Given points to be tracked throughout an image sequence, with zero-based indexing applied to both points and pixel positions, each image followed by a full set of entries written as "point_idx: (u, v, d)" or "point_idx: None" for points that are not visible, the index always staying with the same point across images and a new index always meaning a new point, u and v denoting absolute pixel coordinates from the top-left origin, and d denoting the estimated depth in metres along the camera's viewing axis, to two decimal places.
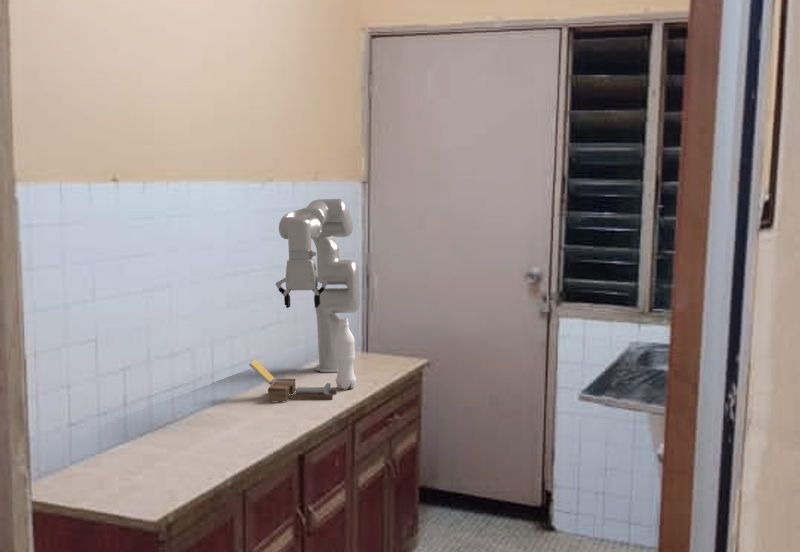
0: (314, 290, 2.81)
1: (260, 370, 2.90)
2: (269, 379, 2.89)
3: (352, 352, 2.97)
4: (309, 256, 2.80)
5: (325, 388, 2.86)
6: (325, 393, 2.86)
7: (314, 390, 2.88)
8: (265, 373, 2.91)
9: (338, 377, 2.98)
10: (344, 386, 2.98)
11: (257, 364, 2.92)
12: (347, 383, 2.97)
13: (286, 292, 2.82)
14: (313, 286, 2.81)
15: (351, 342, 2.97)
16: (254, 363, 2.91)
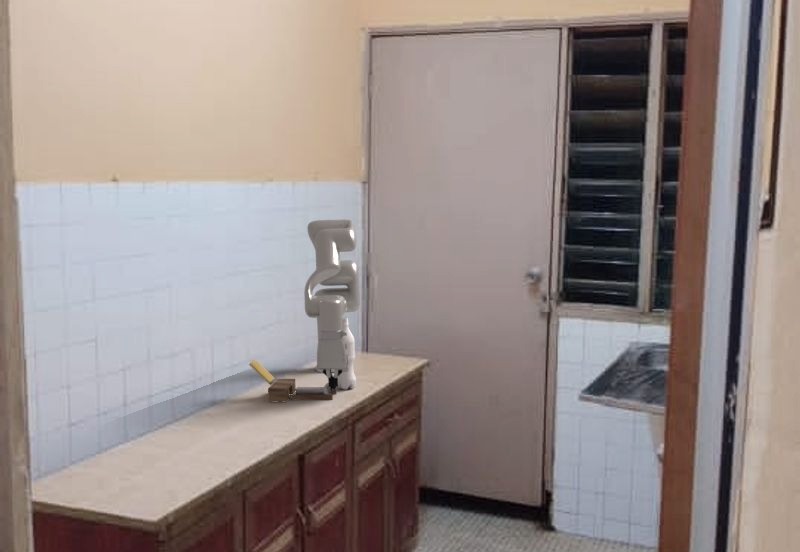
0: (336, 372, 2.87)
1: (260, 370, 2.90)
2: (269, 379, 2.89)
3: (352, 352, 2.97)
4: (340, 336, 2.85)
5: (325, 388, 2.86)
6: (325, 393, 2.86)
7: (314, 390, 2.88)
8: (265, 373, 2.91)
9: (338, 377, 2.98)
10: (344, 386, 2.98)
11: (257, 364, 2.92)
12: (347, 383, 2.97)
13: (330, 374, 2.87)
14: (344, 365, 2.86)
15: (351, 342, 2.97)
16: (254, 363, 2.91)
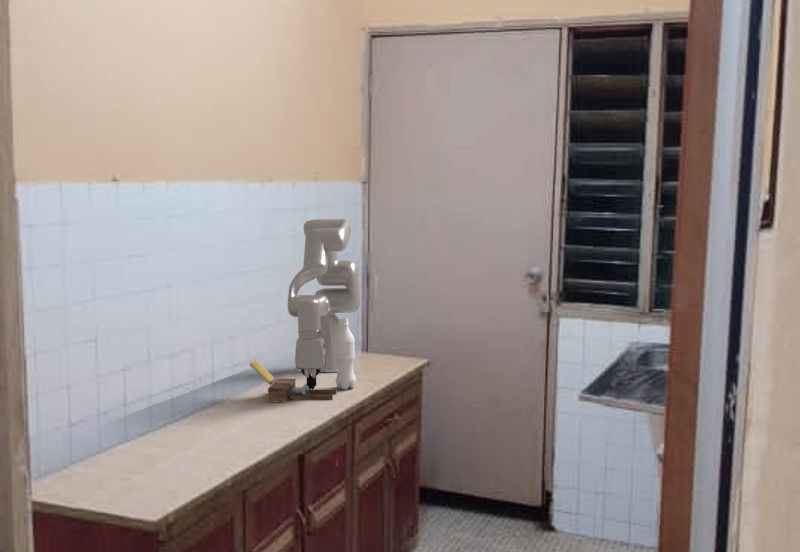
0: (314, 371, 2.87)
1: (260, 370, 2.90)
2: (269, 379, 2.89)
3: (352, 352, 2.97)
4: (318, 335, 2.86)
5: (303, 388, 2.87)
6: (303, 393, 2.87)
7: (292, 390, 2.89)
8: (265, 373, 2.91)
9: (338, 377, 2.98)
10: (344, 386, 2.98)
11: (257, 364, 2.92)
12: (347, 383, 2.97)
13: (308, 374, 2.88)
14: (322, 365, 2.86)
15: (351, 342, 2.97)
16: (254, 363, 2.91)
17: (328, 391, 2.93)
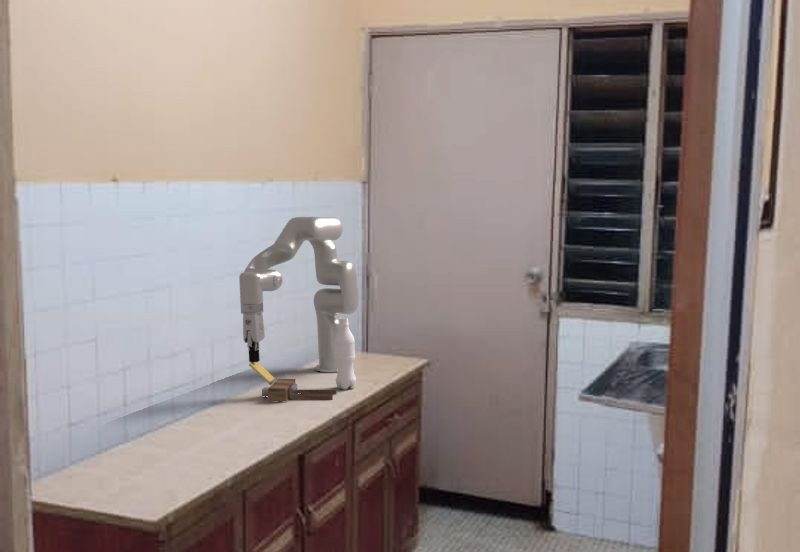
0: None
1: (260, 370, 2.90)
2: (269, 379, 2.89)
3: (352, 352, 2.97)
4: (244, 310, 2.86)
5: (290, 388, 2.87)
6: (290, 393, 2.87)
7: None
8: (265, 373, 2.91)
9: (338, 377, 2.98)
10: (344, 386, 2.98)
11: (257, 364, 2.92)
12: (347, 383, 2.97)
13: None
14: None
15: (351, 342, 2.97)
16: (254, 363, 2.91)
17: (328, 391, 2.93)
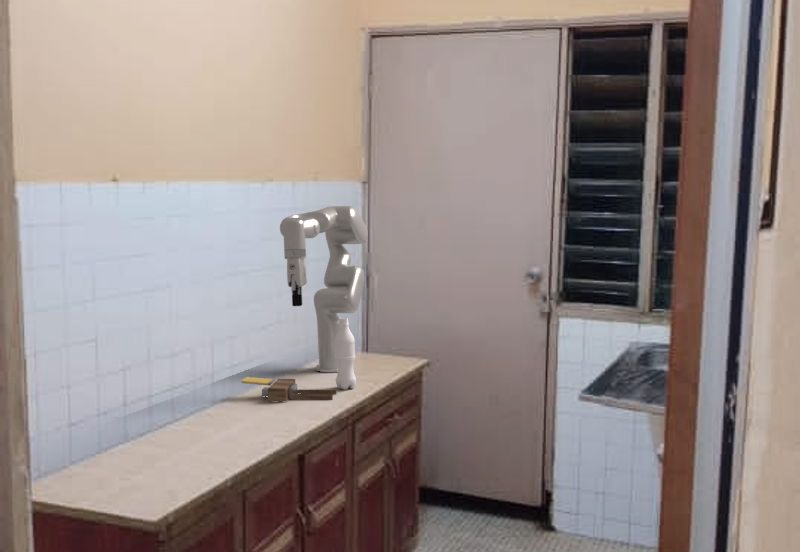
0: None
1: (254, 380, 2.90)
2: (266, 382, 2.90)
3: (352, 352, 2.97)
4: (288, 255, 2.97)
5: (290, 388, 2.87)
6: (290, 393, 2.87)
7: None
8: (261, 380, 2.91)
9: (338, 377, 2.98)
10: (344, 386, 2.98)
11: (250, 378, 2.93)
12: (347, 383, 2.97)
13: None
14: None
15: (351, 342, 2.97)
16: (246, 379, 2.92)
17: (328, 391, 2.93)
